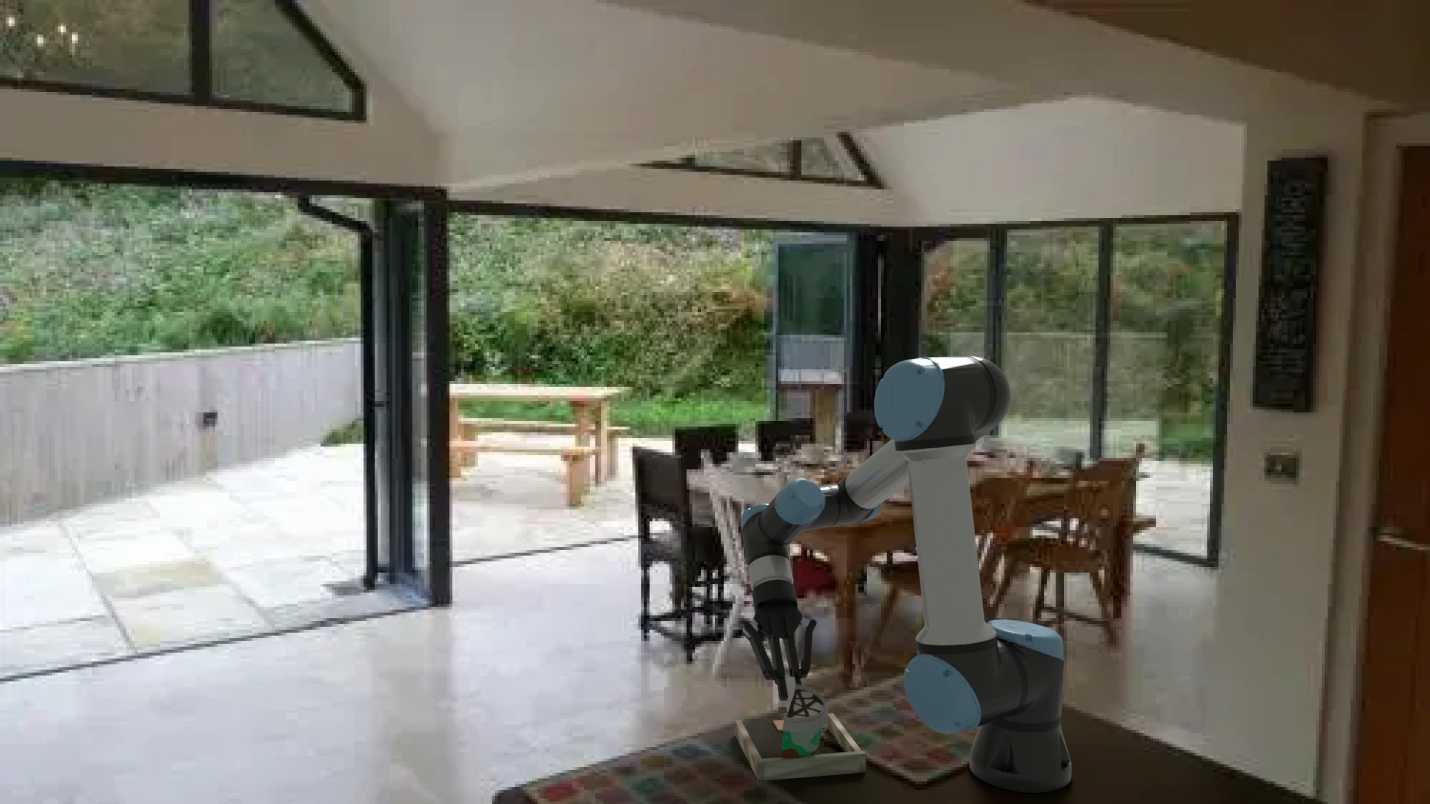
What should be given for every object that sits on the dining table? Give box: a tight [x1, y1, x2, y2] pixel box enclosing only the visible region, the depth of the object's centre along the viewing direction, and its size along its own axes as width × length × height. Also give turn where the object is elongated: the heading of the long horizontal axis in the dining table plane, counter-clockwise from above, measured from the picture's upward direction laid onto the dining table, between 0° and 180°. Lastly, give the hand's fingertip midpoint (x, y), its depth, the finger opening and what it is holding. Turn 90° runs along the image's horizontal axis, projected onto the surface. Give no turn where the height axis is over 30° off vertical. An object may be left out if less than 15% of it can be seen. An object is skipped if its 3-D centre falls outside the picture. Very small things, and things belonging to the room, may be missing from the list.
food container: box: [781, 684, 829, 758], centre depth 171 cm, size 12×6×10 cm, turn 167°
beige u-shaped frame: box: [734, 712, 867, 781], centre depth 176 cm, size 18×17×3 cm
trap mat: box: [772, 719, 784, 732], centre depth 187 cm, size 4×8×1 cm, turn 101°
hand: (794, 718), depth 177 cm, fingers closed
